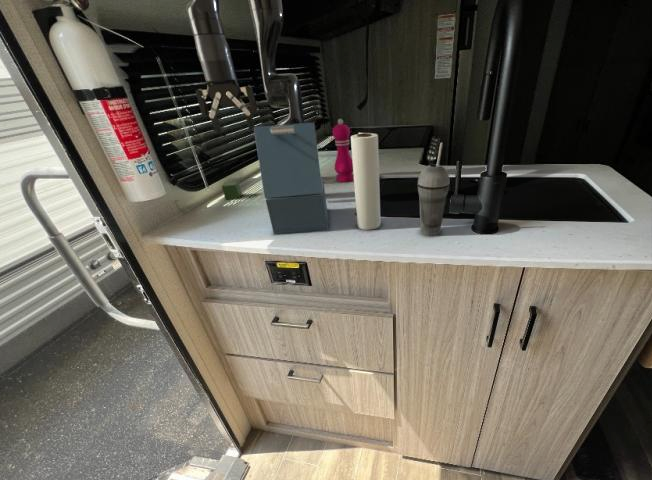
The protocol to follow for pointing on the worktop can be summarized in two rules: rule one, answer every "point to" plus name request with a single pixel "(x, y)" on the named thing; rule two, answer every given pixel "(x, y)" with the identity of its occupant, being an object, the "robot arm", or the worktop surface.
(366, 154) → the paper towel roll
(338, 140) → the pepper mill
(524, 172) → the worktop surface
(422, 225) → the beverage cup
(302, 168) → the freezer lid
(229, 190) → the green cube
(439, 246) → the worktop surface
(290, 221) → the freezer
